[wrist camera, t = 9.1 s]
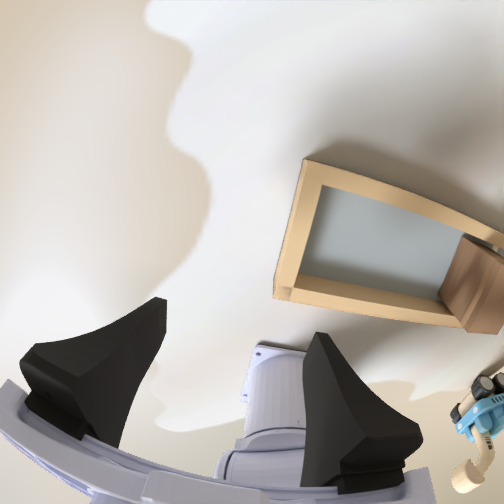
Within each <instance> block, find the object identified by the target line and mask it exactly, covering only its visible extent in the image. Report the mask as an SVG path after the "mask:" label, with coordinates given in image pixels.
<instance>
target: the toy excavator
mask: <svg viewBox="0 0 504 504" xmlns="http://www.w3.org/2000/svg"><path fill="white" fill-rule="evenodd" d="M450 415H451V418H452V419H453V420H452V421H453V423H454V424H456V425H455V427H456V430H457V432H458V434H463V433H465V434H466V436H467V438H468V440H469V441H471V442H476V444H477V446H478V449H479V452H480V455H479V458H478V460H477V462H476V463H475V465H473V463H471V460H470V459H467V460H466V461H465V462H463V463H462V464H461V465H459V466H458V467H457V468H455V470H454V471H453V473H452V476H451V481H452V485H453V487H454V488H455V490H457V491H458V492H460V493H467V492H469V491H471V490H473V489H474V488H476V487H477V486H479V485H480V484H482V483H483V482H484V481H485V478H484V477H483V474H484V473H485V472H486V470H487V469H488V467H489V466H490V464H491V463H492V461H493V459H494V455H495V451H494V447H493V443H492V440H493V439H494V438H495V437H496V436H497V435H498V434H499V433H500V432H501V431H502V430H503V429H504V374H503V373H501V372H500V373H499V374H496V375H495V376H494V378H492V379H491V378H489V377H487V376H485V377H484V376H483V375H480V376H479V377H478V379H477V380H476V381H475V383H474V384H473V385H472V388H471V391H470V393H469V394H468V395H467V396H466V397H465V399H464V400H463V401H462V402H461V403H458V404H457V405H456V406H455V407H454V408H453V410H452V411H451V414H450Z"/></svg>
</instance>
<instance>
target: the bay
mask: <svg viewBox="0 0 504 504" xmlns="http://www.w3.org/2000/svg"><path fill="white" fill-rule="evenodd" d="M461 237H465V238H467V239H470V240H472V241H475V242H477V243H479V244H482V245H484V246H486V247H489V248H491V249H492V250H494V251H495V252H497V253H498V254H500V255H501V256H502V257H504V234H503V233H501V232H499V231H497V230H495V229H493V228H491V227H489V226H487V225H485V224H483V223H481V222H479V221H477V220H475V219H473V218H471V217H469V216H467V215H464V214H462V213H460V212H458V211H456V210H453V209H451V208H449V207H447V206H444V205H442V204H440V203H437V202H435V201H432V200H430V199H427V198H425V197H422V196H420V195H417V194H415V193H412V192H409V191H407V190H404V189H401V188H399V187H396V186H393V185H390V184H387V183H384V182H381V181H378V180H375V179H372V178H369V177H366V176H363V175H360V174H357V173H353V172H350V171H347V170H343V169H340V168H336V167H333V166H329V165H325V164H322V163H318V162H314V161H310V160H306V159H303V161H302V166H301V170H300V174H299V179H298V183H297V187H296V191H295V195H294V200H293V204H292V208H291V212H290V216H289V220H288V224H287V228H286V232H285V236H284V240H283V244H282V248H281V252H280V256H279V259H278V263H277V267H276V271H275V275H274V278H273V298H274V299H279V300H284V301H289V302H294V303H300V304H305V305H310V306H316V307H321V308H327V309H332V310H338V311H344V312H350V313H355V314H362V315H368V316H374V317H381V318H387V319H394V320H401V321H408V322H415V323H422V324H430V325H438V326H446V327H455V328H463V327H462V326H461V325H460V322H459V321H458V319H457V318H456V317H455V316H454V314H453V313H452V312H451V311H450V309H449V308H448V307H447V306H446V305H445V303H444V302H443V301H442V300H441V299H440V297H439V296H438V295H437V294H438V292H439V290H440V287H441V285H442V283H443V281H444V279H445V277H446V274H447V272H448V270H449V267H450V265H451V263H452V260H453V258H454V255H455V253H456V250H457V248H458V245H459V242H460V240H461Z"/></svg>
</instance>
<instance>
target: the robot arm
mask: <svg viewBox="0 0 504 504" xmlns="http://www.w3.org/2000/svg"><path fill="white" fill-rule="evenodd" d="M166 319H167V300H165V299H162V298H158V297H154V298H153V299H151V300H149V301H148V302H146V303H145V304H143V305H142V306H140V307H138V308H137V309H135V310H134V311H132V312H131V313H129V314H127V315H126V316H124V317H122V318H120V319H118V320H116V321H115V322H113V323H111V324H109V325H107V326H105V327H102V328H100V329H98V330H96V331H93V332H90V333H87V334H84V335H81V336H77V337H74V338H70V339H65V340H60V341H54V342H46V343H36V344H34V346H33V347H32V348H31V349H30V350H29V351H28V352H27V353H26V354H25V356H24V357H23V358H22V359H21V360H20V363H19V364H20V369H21V371H22V374H23V375H24V378H25V379H26V381H27V383H28V385H29V387H30V388H31V390H32V391H31V392H30V394H29V395H28V394H27V393H26V392H25V391H24V390H23V389H22V388H21V387H19V386H18V385H17V384H15V383H14V382H13V381H11V380H10V379H7V381H6V382H5V383H4V385H3V386H2V387H1V388H0V433H1V434H2V435H3V436H4V437H5V438H6V439H7V440H8V441H9V442H10V443H11V444H12V445H13V446H15V447H16V448H17V449H18V450H20V451H21V452H22V453H23V454H25V455H26V456H27V457H29V458H30V459H31V460H33V461H34V462H35V463H37V464H38V465H39V466H41V467H42V468H44V469H45V470H47V471H48V472H49V473H51V474H52V475H54V476H56V477H57V478H59V479H60V480H62V481H63V482H65V483H67V484H68V485H70V486H71V487H73V488H75V489H77V490H78V491H80V492H82V493H84V494H86V495H87V496H89V497H91V498H92V499H91V502H90V504H436V500H435V495H434V490H433V486H432V482H431V478H430V474H429V470H428V467H424V468H419V469H415V470H411V471H408V472H405V473H403V471H402V468H404V467H405V461H404V460H405V459H406V458H407V457H409V456H410V455H411V454H412V453H414V452H415V451H416V450H417V449H418V448H419V447H420V446H421V444H422V443H423V436H422V433H421V430H420V427H419V425H418V424H417V423H415V422H414V421H412V420H410V419H408V418H407V417H405V416H403V415H402V414H400V413H399V412H397V411H396V410H394V409H393V408H391V407H390V406H389V405H387V404H386V403H385V402H384V401H382V400H381V399H380V398H379V397H378V396H377V395H376V394H374V392H372V391H371V390H370V389H369V387H367V385H366V384H365V383H364V382H363V381H362V380H361V379H360V378H359V377H358V375H357V374H356V373H355V372H354V370H353V369H352V368H351V367H350V365H349V364H348V363H347V361H346V360H345V358H344V357H343V355H342V354H341V353H340V351H339V350H338V348H337V347H336V345H335V344H334V342H333V341H332V339H331V338H330V336H329V335H328V334H327V333H321V332H315V335H314V337H313V339H312V342H311V344H310V346H309V349H308V351H307V352H300V351H294V350H287V349H282V348H276V347H270V346H265V345H256V346H255V348H254V352H253V355H252V359H251V362H250V365H249V369H248V372H247V376H246V379H245V382H244V386H243V389H242V392H241V395H240V401H242V402H247V403H248V404H247V412H246V420H245V427H244V435H243V439H236V443H235V449H229V450H227V451H226V452H224V453H223V455H222V456H221V457H220V458H219V460H218V461H217V463H216V466H215V470H214V475H213V478H211V477H206V476H201V475H197V474H193V473H189V472H185V471H181V470H177V469H174V468H170V467H167V466H163V465H160V464H157V463H154V462H151V461H148V460H145V459H142V458H140V457H137V456H134V455H132V454H129V453H126V452H124V451H121V450H119V449H118V447H119V443H120V440H121V436H122V432H123V429H124V426H125V422H126V420H127V416H128V414H129V411H130V408H131V405H132V402H133V400H134V397H135V395H136V392H137V390H138V387H139V385H140V383H141V381H142V379H143V378H144V376H145V374H146V372H147V370H148V369H149V367H150V365H151V363H152V362H153V360H154V358H155V356H156V354H157V353H158V351H159V349H160V347H161V344H162V342H163V339H164V337H165V334H166ZM258 352H259V353H260V354H258Z"/></svg>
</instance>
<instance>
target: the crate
mask: <svg viewBox="0 0 504 504" xmlns="http://www.w3.org/2000/svg"><path fill="white" fill-rule="evenodd" d="M437 295H438V296H439V297H440V299H441V300H442V301H443V302H444V303H445V305H446V306H447V307H448V308H449V309H450V311H451V312H452V313H453V314H454V316H455V317H456V318H457V319H458V321H459V322H460V325H461V326H462V327H463V328H464V329H465V330H466V331H467V332H470V333H482V334H495V335H497V334H498V332H499V330H500V329H501V327H502V325H503V324H504V257H502V256H501V255H500V254H498V253H497V252H495V251H494V250H492V249H491V248H489V247H486V246H484V245H482V244H479V243H477V242H475V241H472V240H470V239H467V238H465V237H461V240H460V242H459V245H458V248H457V250H456V253H455V255H454V258H453V260H452V263H451V265H450V267H449V270H448V272H447V274H446V277H445V279H444V281H443V283H442V285H441V287H440V290H439V292H438V294H437Z"/></svg>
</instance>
